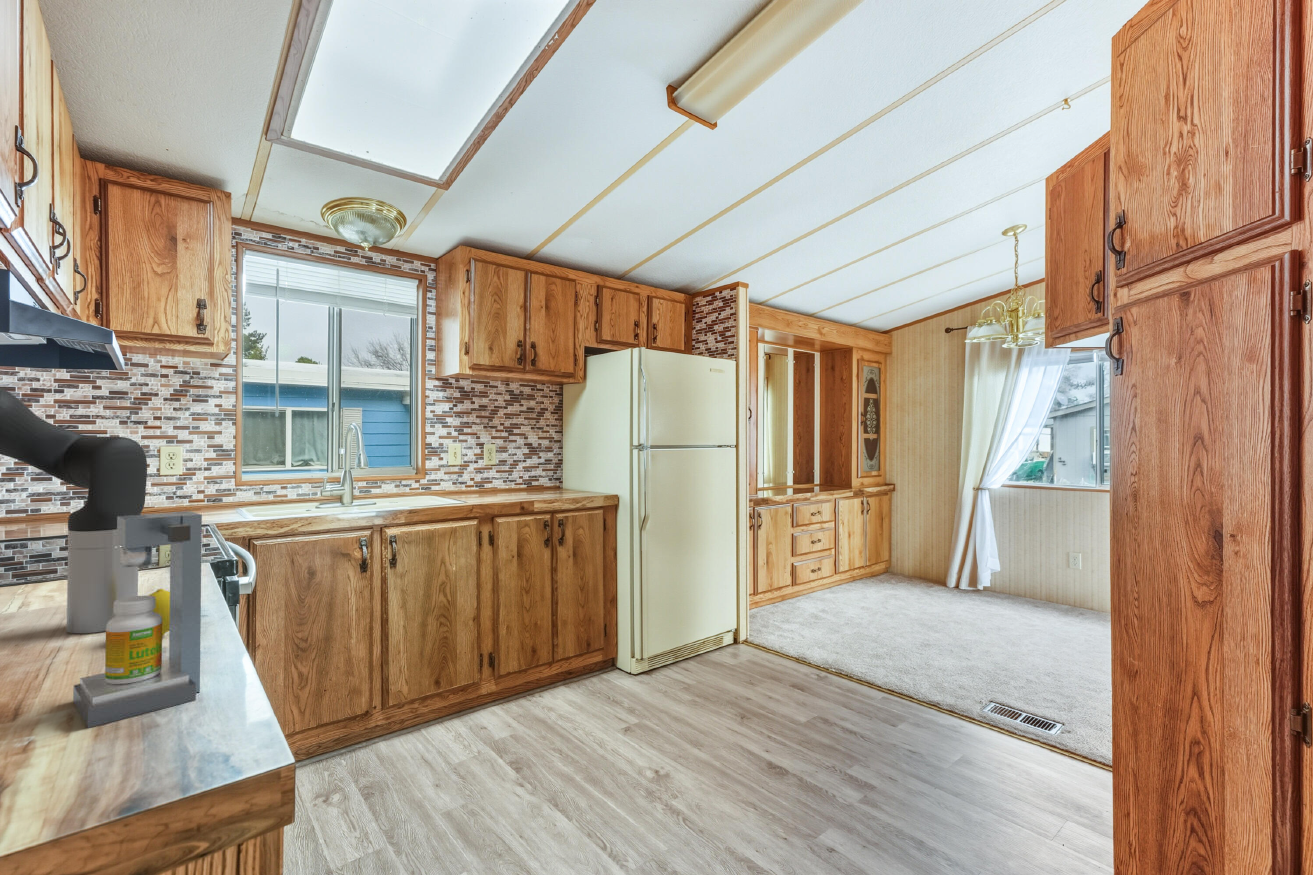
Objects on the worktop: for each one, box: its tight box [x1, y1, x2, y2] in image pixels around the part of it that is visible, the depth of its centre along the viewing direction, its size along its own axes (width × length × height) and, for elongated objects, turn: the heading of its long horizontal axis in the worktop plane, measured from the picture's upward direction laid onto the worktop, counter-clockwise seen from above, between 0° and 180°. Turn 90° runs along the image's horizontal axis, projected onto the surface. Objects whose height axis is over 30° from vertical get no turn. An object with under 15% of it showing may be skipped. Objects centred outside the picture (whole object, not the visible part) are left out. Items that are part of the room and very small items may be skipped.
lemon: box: [147, 588, 170, 637], centre depth 101 cm, size 6×6×8 cm
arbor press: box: [72, 510, 203, 729], centre depth 76 cm, size 15×11×23 cm
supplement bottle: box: [104, 595, 163, 684], centre depth 76 cm, size 5×5×10 cm
